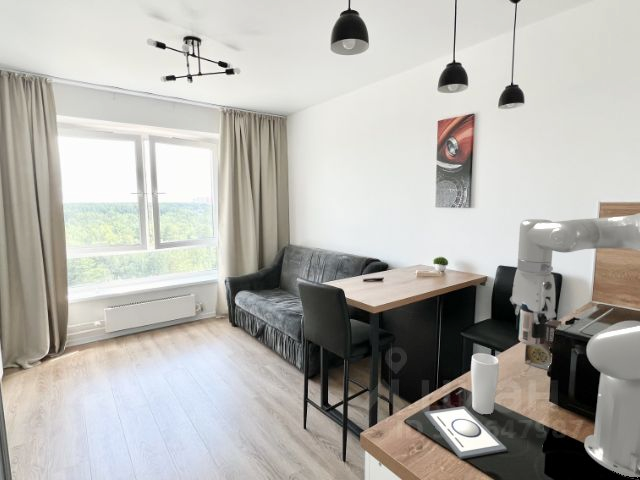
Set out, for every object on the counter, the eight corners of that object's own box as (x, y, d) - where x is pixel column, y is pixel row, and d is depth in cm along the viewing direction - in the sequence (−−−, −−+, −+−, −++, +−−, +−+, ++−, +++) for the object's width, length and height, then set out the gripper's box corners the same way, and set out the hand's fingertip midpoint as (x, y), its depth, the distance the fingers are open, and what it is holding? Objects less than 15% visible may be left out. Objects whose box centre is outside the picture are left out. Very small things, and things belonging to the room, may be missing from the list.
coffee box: (559, 365, 119) (562, 321, 116) (554, 372, 114) (558, 326, 112) (529, 357, 125) (532, 314, 123) (523, 363, 121) (526, 319, 119)
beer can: (542, 347, 90) (545, 302, 88) (522, 345, 91) (525, 301, 89) (534, 339, 94) (537, 297, 93) (515, 338, 95) (518, 296, 94)
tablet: (506, 450, 80) (506, 447, 80) (460, 459, 78) (460, 456, 77) (463, 408, 96) (464, 405, 96) (424, 414, 94) (424, 411, 93)
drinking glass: (499, 419, 91) (502, 365, 89) (472, 416, 92) (474, 363, 90) (492, 403, 98) (495, 354, 96) (466, 401, 99) (469, 352, 97)
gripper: (575, 273, 82) (569, 345, 85) (522, 260, 99) (518, 321, 101) (548, 274, 81) (542, 348, 83) (498, 261, 97) (495, 322, 100)
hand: (529, 332), depth 92 cm, fingers closed on beer can, 4 cm apart
